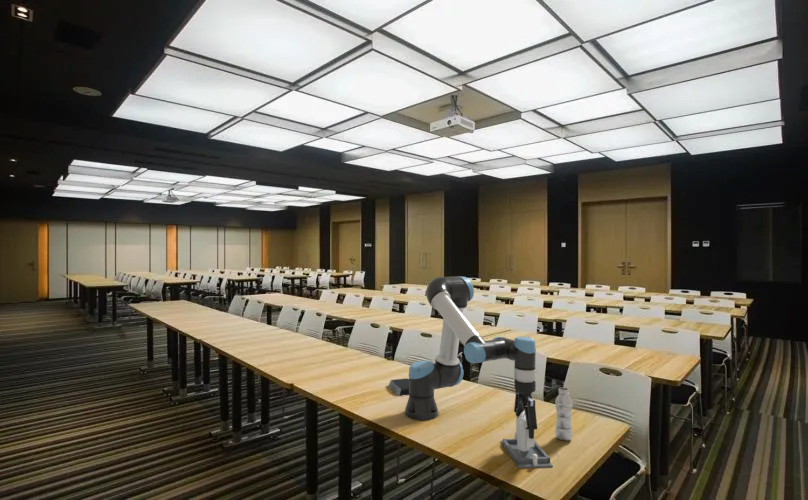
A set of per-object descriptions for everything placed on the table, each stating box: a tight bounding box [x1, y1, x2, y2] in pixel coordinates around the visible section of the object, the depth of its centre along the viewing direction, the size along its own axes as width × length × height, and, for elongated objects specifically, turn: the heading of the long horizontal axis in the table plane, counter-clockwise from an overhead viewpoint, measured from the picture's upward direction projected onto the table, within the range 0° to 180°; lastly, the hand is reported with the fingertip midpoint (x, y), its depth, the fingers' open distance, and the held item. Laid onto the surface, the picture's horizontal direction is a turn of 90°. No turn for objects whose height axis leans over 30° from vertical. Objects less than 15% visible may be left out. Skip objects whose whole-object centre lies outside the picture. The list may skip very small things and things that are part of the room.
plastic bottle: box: [554, 387, 574, 441], centre depth 165 cm, size 6×7×20 cm
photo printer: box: [517, 410, 530, 452], centre depth 152 cm, size 10×4×12 cm, turn 152°
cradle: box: [500, 431, 553, 469], centre depth 152 cm, size 12×20×4 cm, turn 4°
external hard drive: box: [388, 378, 409, 397], centre depth 226 cm, size 13×19×4 cm
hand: (525, 440), depth 152 cm, fingers closed on photo printer, 10 cm apart
